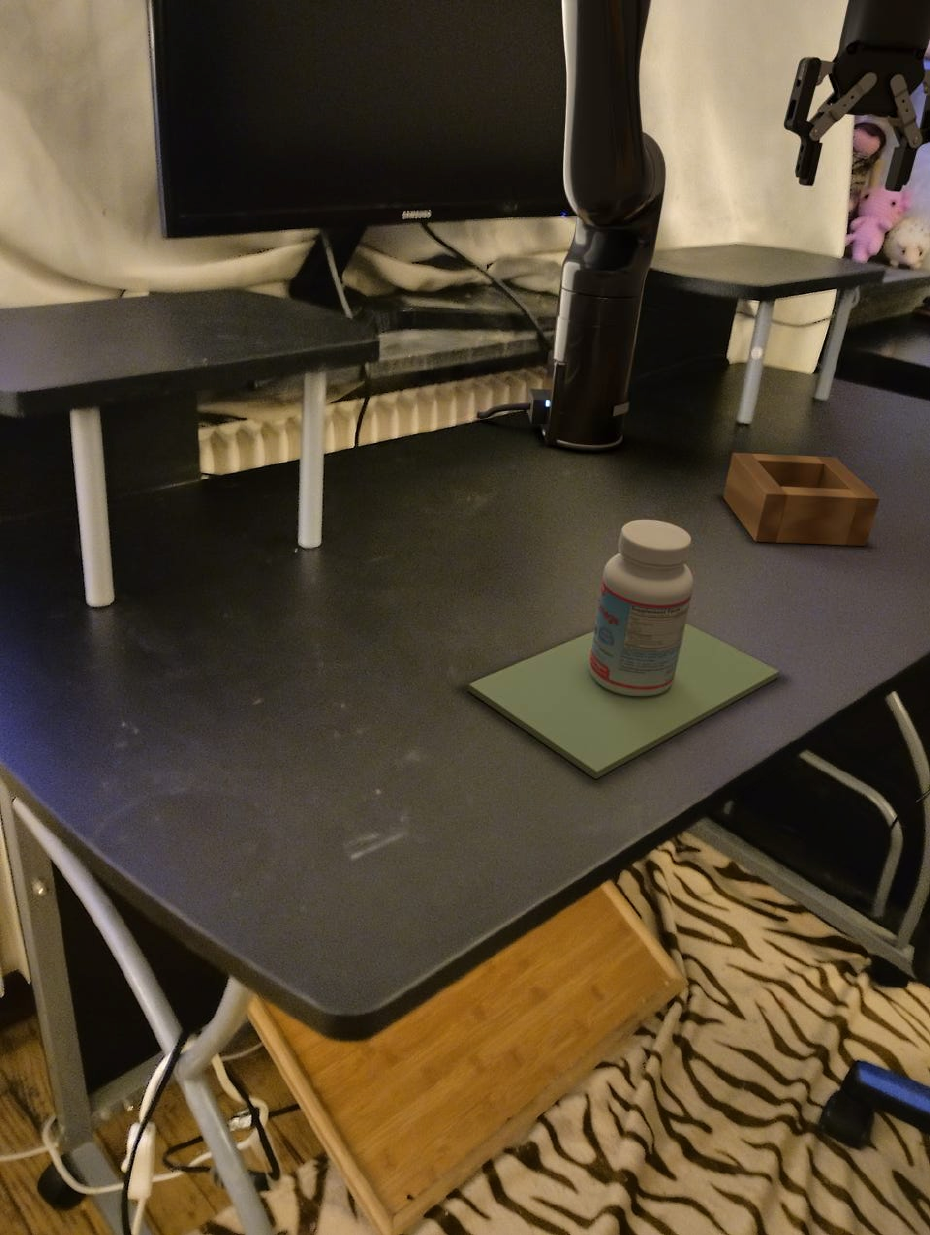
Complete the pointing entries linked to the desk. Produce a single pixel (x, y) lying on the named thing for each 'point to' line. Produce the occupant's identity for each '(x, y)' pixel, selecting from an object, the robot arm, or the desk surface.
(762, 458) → the stand
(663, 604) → the pill bottle
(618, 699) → the mat
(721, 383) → the desk surface
